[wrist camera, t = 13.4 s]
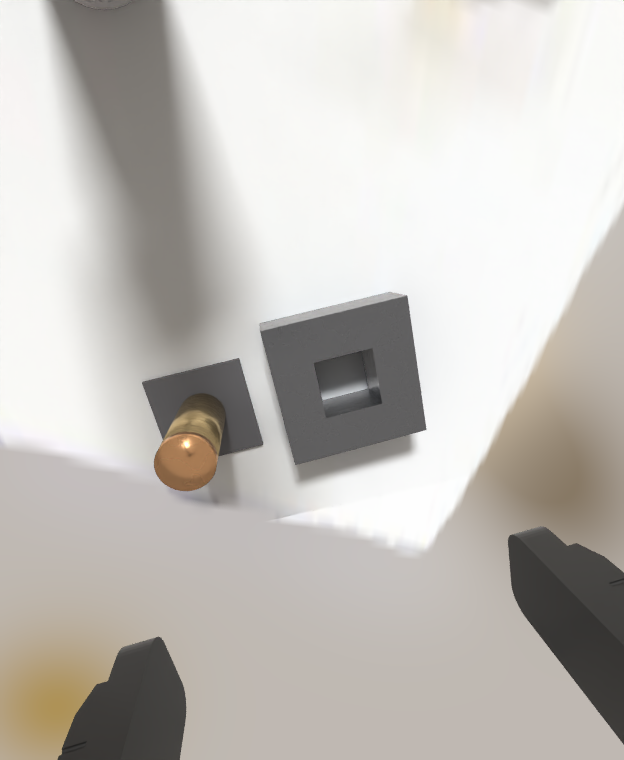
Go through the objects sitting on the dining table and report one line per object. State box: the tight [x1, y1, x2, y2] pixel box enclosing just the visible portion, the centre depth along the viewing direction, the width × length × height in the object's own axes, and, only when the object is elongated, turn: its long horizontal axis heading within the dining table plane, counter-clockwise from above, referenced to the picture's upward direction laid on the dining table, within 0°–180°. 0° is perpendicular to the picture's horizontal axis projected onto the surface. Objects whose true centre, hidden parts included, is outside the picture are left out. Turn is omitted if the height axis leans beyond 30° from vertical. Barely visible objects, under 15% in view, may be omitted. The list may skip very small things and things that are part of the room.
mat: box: [142, 358, 263, 456], centre depth 42 cm, size 10×10×1 cm
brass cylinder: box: [154, 393, 226, 491], centre depth 37 cm, size 5×5×11 cm
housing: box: [260, 292, 426, 465], centre depth 41 cm, size 14×14×5 cm
